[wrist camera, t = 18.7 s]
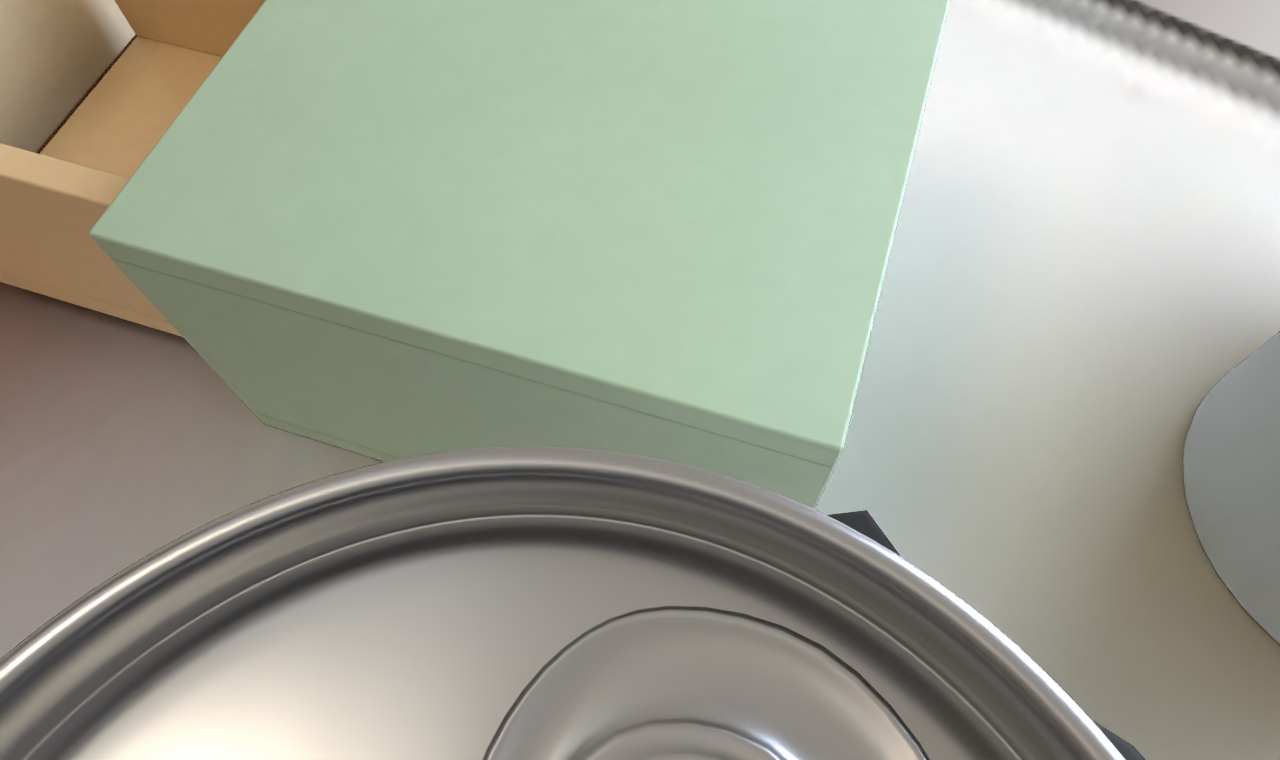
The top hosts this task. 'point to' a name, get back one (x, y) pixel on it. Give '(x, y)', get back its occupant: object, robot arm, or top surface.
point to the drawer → (92, 129)
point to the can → (530, 631)
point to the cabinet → (542, 222)
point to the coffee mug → (1240, 482)
